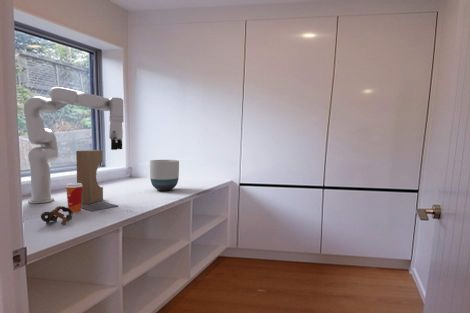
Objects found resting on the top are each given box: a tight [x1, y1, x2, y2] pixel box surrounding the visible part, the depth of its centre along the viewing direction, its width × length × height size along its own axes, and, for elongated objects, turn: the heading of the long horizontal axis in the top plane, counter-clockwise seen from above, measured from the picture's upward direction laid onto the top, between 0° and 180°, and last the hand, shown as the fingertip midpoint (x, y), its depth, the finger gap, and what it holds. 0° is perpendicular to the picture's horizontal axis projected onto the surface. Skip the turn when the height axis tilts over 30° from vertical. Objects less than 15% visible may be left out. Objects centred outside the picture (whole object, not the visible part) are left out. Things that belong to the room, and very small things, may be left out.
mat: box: [81, 201, 119, 212], centre depth 162 cm, size 14×15×1 cm
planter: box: [149, 159, 180, 192], centre depth 215 cm, size 20×20×21 cm
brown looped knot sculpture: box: [40, 205, 74, 226], centre depth 129 cm, size 12×10×8 cm
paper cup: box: [65, 182, 83, 213], centre depth 152 cm, size 8×8×14 cm
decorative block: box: [75, 149, 104, 206], centre depth 173 cm, size 15×8×30 cm, turn 176°
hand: (116, 149), depth 172 cm, fingers open, 9 cm apart
